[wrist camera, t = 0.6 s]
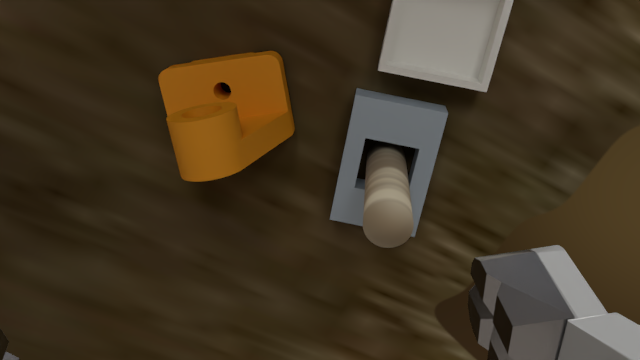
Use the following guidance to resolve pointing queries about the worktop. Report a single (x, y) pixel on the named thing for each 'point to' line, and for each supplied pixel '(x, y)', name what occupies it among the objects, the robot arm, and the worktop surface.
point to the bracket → (226, 112)
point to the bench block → (392, 127)
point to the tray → (445, 40)
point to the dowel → (387, 196)
